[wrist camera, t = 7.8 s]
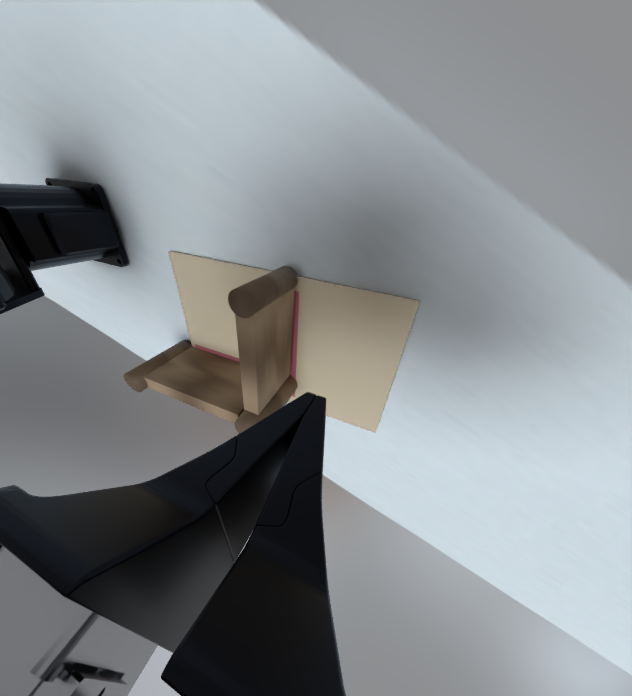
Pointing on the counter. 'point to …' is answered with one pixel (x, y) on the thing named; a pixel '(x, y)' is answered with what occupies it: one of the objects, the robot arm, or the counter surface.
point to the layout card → (308, 333)
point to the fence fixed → (204, 383)
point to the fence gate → (264, 334)
